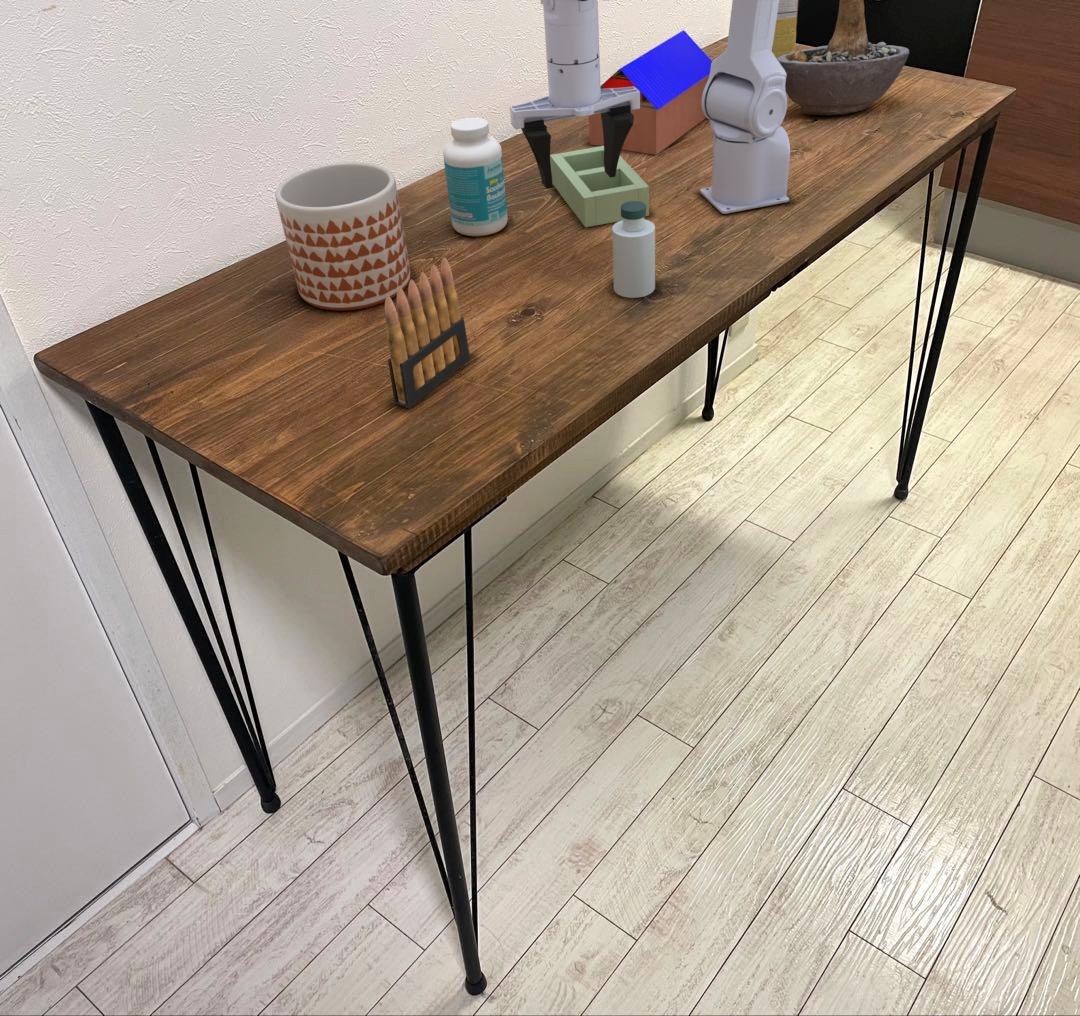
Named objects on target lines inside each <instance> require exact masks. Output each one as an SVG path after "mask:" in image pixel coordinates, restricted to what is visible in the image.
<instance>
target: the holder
mask: <svg viewBox="0 0 1080 1016" xmlns="http://www.w3.org/2000/svg"><path fill="white" fill-rule="evenodd" d="M550 165H551V173H552V186H553V187H554V188H555V189H556V191H557V192H558V193H559V195H560V196H561V197H562V199H563V200H564V202H565V203H566V204H567V205H568V207H569V208H570V209H571V210H572V212H573V213H574V215H575V216H576V217H577V219H578V220H579V221H580V222H581V224H582V225H583V226H584V228H590V227H595V226H600V225H607V224H612V223H617V222H619V221H622V220H623V218H622V217H621V205H622V204H623V203H626V202H629V201H639V202H643V203H645V204H646V216H645V217H649V216H650V186H649V185H648V184H647V183H646V181H644V179H643V178H642V177H641V176H640V175H639V174H638V173H637V172H636V170H634V168H632V167H631V166H630V164H628V162H626V160H625V159H624V158H623V157H622V156H621V155H620V157H619V161H618V165H617V170H616V176H615V177H611V178H610V177H609V176H608V175H607V173H606V172H605V169H604V146H595V147H587V148H582V149H577V150H571V151H566V152H559V153H554V154H553V153H552V154H550Z"/></svg>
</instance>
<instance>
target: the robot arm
mask: <svg viewBox="0 0 1080 1016" xmlns="http://www.w3.org/2000/svg"><path fill="white" fill-rule="evenodd" d="M731 1H732V2H731V8H730V17H729V27H728V34H727V44H726V49H725V50H724V51H723V52H722V53H720V54H719V55H718V56H717V57H716V58H714V59H713V60H712V63H711V69H710V75H709V79H708V81H707V84H706V86H705V88H704V91H703V94H702V110H703V113H704V115H705V116H706V118H705V119H707V120H709V129H710V130H712V131H713V137H712V138H713V139H712V164H711V166H712V167H711V186H708V187H703V188H700V189H699V193H700V194H701V195H702V196H703V197H704V198H705V199H706V200H707V201H708V202H709V203H710V204H711V205H712V206H713V207H714V208H715V209H716V210H718V211H719V212H720V213H721V214H723V215H725V214H726V215H727V214H732V213H738V212H742V211H743V212H744V211H747V210H748V211H749V210H752V209H758V208H765V207H769V206H774V205H780V204H786V203H789V202H790V198H789V197H788V186H789V185H788V184H789V173H790V172H789V171H790V160H791V144H790V139H789V136H788V133H787V131H786V130H785V128H784V127H783V126H781V125H782V123H783V121H784V119H785V117H786V114H787V110H788V109H787V107H788V95H787V93H786V91H785V83H786V76H787V74H786V72H785V70H784V69H783V67H782V66H781V64H780V63H779V61H778V60H777V58H776V57H775V56H774V54H773V52H772V47H773V40H774V33H775V26H776V19H777V12H778V5H779V0H731ZM540 4H541V5H542V7H543V24H544V37H545V56H546V71H547V84H548V85H547V86H548V95H547V96H544V97H541V98H537V99H533V100H530V101H528V102H525V103H520V104H516V105H510V106H509V114H510V125H511V126H512V127H513V128H514V130H521V131H522V134H523V136H524V137H525V139H526V141H527V143H528V145H529V148H530V149H531V151H532V153H533V157H534V158H535V161H536V165H537V168H538V171H539V174H540V179H541V184H542V185H543V187H544V188H545V189H549V190H550V189H552V188H553V184H552V173H551V165H550V155H551V140H552V135H551V134H550V132H549V131H548V128H547V125H546V124H545V123H549V122H556V121H561V120H562V121H563V120H567V119H573V118H583V117H587V116H588V117H589V115H593V114H598V113H601V119H602V127H603V136H604V169H605V172H606V173H607V175H608V176H609V177H610V178H611V177H615V176H616V170H617V165H618V161H619V157H620V156H621V153H622V150H623V149H622V147H623V144H624V142H625V139H626V137H627V135H628V133H629V131H630V129H631V128H632V126H633V123H634V115H633V114H632V113H631V110H635V109H640V91H639V90H638V89H636V88H635V87H634V86H633V87H625V88H608V89H601V88H600V86H601V62H600V59H601V58H600V31H599V29H600V28H599V26H600V25H599V0H540Z"/></svg>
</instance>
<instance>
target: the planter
mask: <svg viewBox="0 0 1080 1016" xmlns="http://www.w3.org/2000/svg"><path fill="white" fill-rule="evenodd" d="M864 1H865V0H839V5H838V12H837V20H836V23H835V27H834V28H835V29H834V32H833V35H832V36H831V39H830V40H829V41H828V44H827V45H821V46H817V47H810V48H805V49H799V50H795V52H791V53H790V54H785V55H782V56H780V57H778V58H777V60H778V61H779V63H780V64H781V66H782V67H783V69H784V70H785V72H786V74H787V76H786V83H785V91H786V95H787V97H788V98H789V99H790V101H792V102H793V103H795V104H798V105H799V106H800V107H801V110H802V112H803V113H804V114H805V115H815V116H841V115H848V114H852V113H857V112H860V111H861V112H862V111H864V110H865V109H867V108H868V107H869V106H870V105H871V104H872V103H873V102H875V101H877V100H878V99H880V98H882V97H883V96H884V95H885V94H886V93H887V92H888V91H889V89H890V88H891V87H892V85H893V84H894V83H895V82H896V80H897V78H898V77H899V75H900V73H901V72H902V70H903V68H904V67H905V64H906V62H907V60H908V58H909V55H910V50H909V48H908V47H904V46H899V45H892V44H891V45H890V44H889V45H887V43H885V42H884V41H880V42H878V43H876V44H875V43H872V42H871V41H869V39H868V33H867V25H866V17H865V3H864Z"/></svg>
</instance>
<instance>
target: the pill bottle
mask: <svg viewBox="0 0 1080 1016" xmlns="http://www.w3.org/2000/svg"><path fill="white" fill-rule="evenodd" d="M489 132H490V128H489V122H488V120H487V119H485V118H482V117H464V118H459V119H457V120H455V121H453V122H452V123H451V124H450V135H451V136H452V138H453V139H451V140H450V141H449V142H447V143H446V144H445V147H444V149H443V154H442V155H443V164H444V173H445V179H446V187H447V195H448V203H449V212H450V218H451V225H452V228H453V230H454V231H456V232H457V233H459V234H461V235H463V236H469V237H484V236H489V235H492V234H496V233H497V232H500V231H501V230H503V229H504V228H505V227H506V226H507V223H508V221H509V220H508V205H507V194H506V185H505V173H504V172H505V171H504V162H503V160H504V159H503V150H502V146H501V144H500V142H499V141H498V140H497V139H496V138H494V137H492V136H490V133H489Z"/></svg>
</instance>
